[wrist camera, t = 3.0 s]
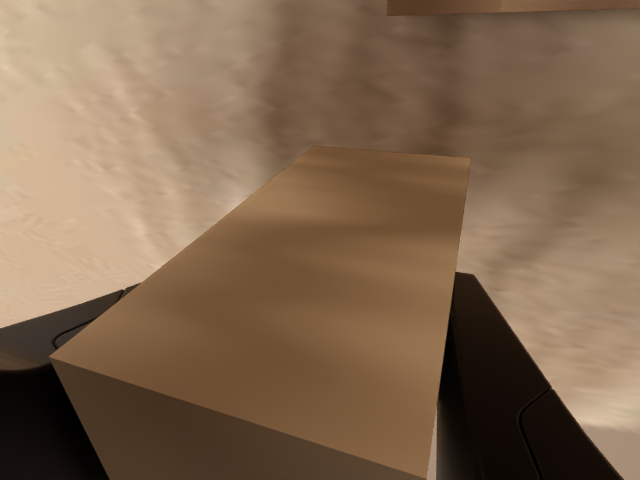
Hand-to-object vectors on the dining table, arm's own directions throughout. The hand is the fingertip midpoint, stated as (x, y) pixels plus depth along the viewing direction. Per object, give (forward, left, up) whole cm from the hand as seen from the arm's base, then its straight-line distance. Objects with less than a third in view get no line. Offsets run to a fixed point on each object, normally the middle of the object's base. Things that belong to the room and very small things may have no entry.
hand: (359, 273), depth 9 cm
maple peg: (0, 0, -3) cm, 3 cm away
